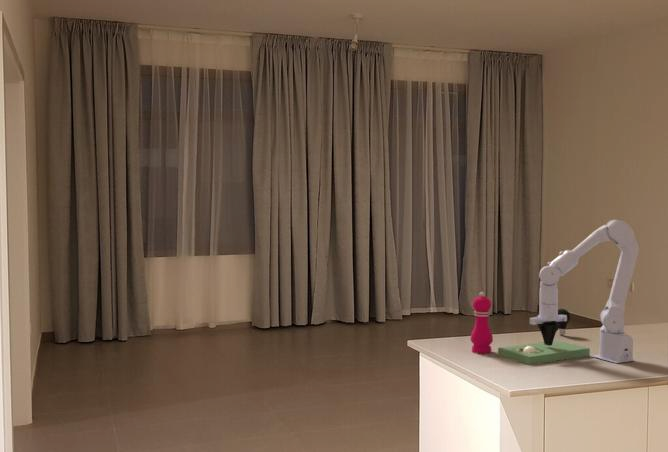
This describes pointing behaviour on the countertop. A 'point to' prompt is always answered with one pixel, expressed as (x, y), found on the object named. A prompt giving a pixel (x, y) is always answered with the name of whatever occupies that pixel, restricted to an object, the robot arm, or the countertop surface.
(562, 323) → the light bulb
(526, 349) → the golf ball
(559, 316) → the robot arm
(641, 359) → the countertop surface
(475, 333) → the pepper mill
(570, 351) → the putting mat
